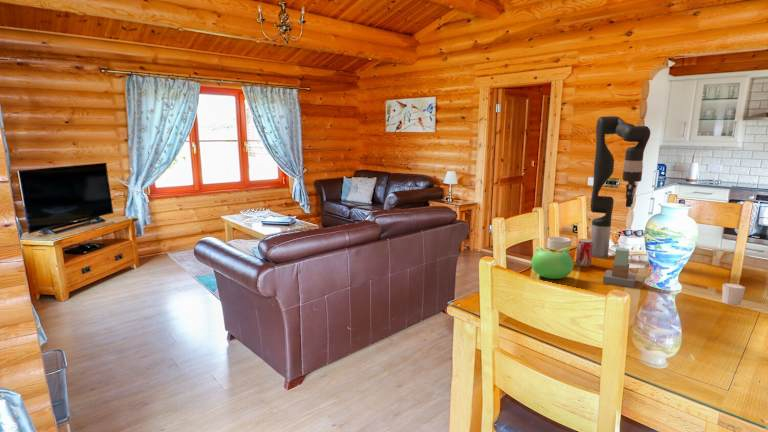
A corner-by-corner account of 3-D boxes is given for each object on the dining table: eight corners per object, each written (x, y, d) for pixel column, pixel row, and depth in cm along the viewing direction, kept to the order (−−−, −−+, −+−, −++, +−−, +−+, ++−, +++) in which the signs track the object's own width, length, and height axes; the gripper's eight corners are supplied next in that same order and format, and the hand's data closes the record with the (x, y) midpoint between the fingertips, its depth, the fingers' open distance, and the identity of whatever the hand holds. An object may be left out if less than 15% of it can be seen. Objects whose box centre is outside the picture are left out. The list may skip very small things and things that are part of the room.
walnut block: (613, 272, 192) (614, 261, 191) (628, 274, 189) (629, 264, 188) (611, 275, 187) (612, 265, 186) (627, 278, 184) (628, 267, 183)
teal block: (615, 262, 191) (616, 247, 190) (627, 264, 188) (629, 248, 187) (614, 264, 187) (615, 249, 185) (627, 266, 184) (628, 251, 183)
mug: (538, 259, 225) (540, 235, 223) (557, 258, 227) (558, 234, 225) (553, 267, 211) (555, 241, 208) (573, 266, 212) (575, 241, 210)
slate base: (606, 275, 197) (606, 269, 196) (635, 280, 190) (636, 274, 190) (602, 282, 187) (603, 276, 187) (633, 287, 180) (634, 281, 180)
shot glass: (738, 300, 166) (740, 283, 165) (746, 306, 160) (749, 289, 158) (717, 298, 168) (719, 281, 167) (724, 304, 162) (727, 287, 161)
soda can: (587, 263, 217) (589, 238, 215) (593, 267, 210) (595, 242, 208) (573, 262, 218) (575, 238, 216) (578, 266, 211) (580, 241, 209)
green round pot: (528, 279, 191) (530, 248, 189) (533, 269, 206) (535, 241, 203) (571, 285, 183) (573, 253, 181) (573, 275, 198) (575, 245, 195)
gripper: (624, 169, 199) (621, 203, 201) (621, 171, 187) (618, 207, 190) (643, 170, 194) (639, 204, 197) (641, 171, 183) (637, 208, 186)
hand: (629, 205), depth 193 cm, fingers open, 8 cm apart
